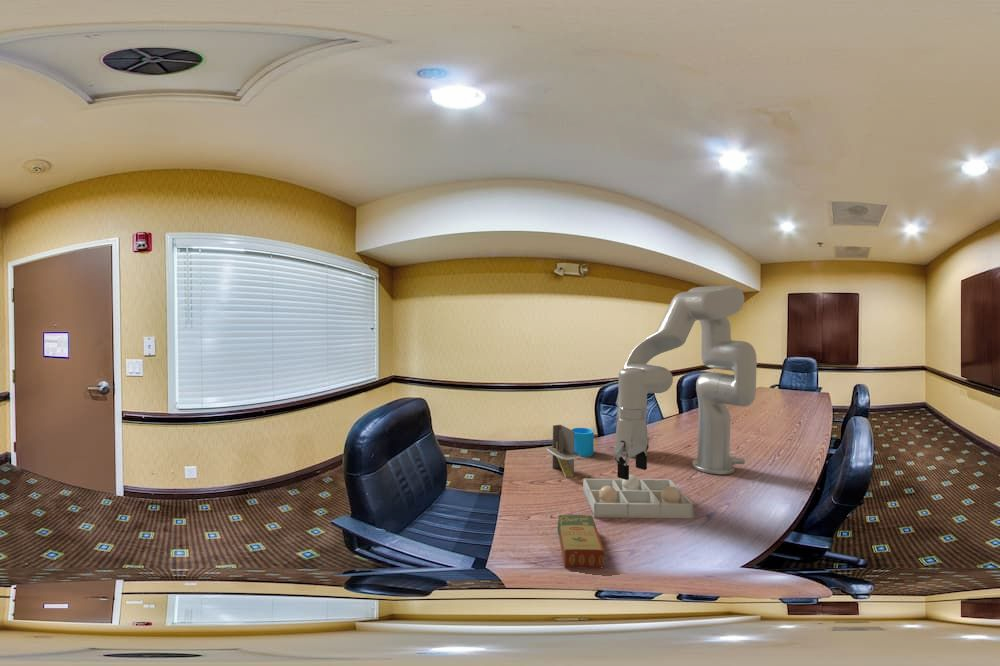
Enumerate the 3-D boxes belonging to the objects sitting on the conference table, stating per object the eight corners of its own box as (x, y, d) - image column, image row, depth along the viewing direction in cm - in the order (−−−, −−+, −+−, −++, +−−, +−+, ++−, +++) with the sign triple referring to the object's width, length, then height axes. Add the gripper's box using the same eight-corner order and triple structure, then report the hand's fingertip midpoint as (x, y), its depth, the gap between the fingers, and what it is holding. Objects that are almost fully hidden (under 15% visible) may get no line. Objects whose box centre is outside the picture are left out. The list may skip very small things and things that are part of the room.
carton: (563, 569, 93) (563, 548, 92) (557, 530, 109) (557, 513, 108) (604, 570, 92) (605, 549, 92) (592, 531, 108) (592, 513, 108)
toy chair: (553, 493, 130) (554, 442, 129) (518, 464, 153) (518, 422, 153) (611, 483, 138) (612, 435, 137) (568, 457, 161) (569, 416, 160)
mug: (582, 448, 171) (582, 426, 170) (598, 453, 164) (598, 431, 164) (558, 453, 164) (558, 431, 164) (573, 460, 158) (573, 436, 157)
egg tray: (669, 491, 131) (669, 479, 131) (693, 518, 114) (694, 504, 114) (582, 490, 131) (583, 478, 131) (594, 517, 114) (594, 503, 114)
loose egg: (636, 491, 129) (636, 472, 129) (641, 498, 124) (641, 478, 124) (619, 491, 129) (620, 471, 129) (624, 498, 124) (624, 477, 124)
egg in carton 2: (675, 504, 121) (676, 483, 120) (682, 512, 116) (682, 490, 116) (658, 504, 121) (658, 483, 121) (664, 512, 116) (664, 490, 116)
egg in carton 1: (613, 503, 121) (614, 482, 121) (619, 511, 117) (619, 489, 116) (596, 503, 121) (597, 482, 120) (601, 511, 116) (602, 490, 116)
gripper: (636, 405, 134) (635, 462, 135) (603, 416, 122) (603, 478, 123) (660, 409, 129) (659, 468, 130) (628, 421, 117) (628, 486, 118)
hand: (632, 473), depth 127 cm, fingers open, 9 cm apart
